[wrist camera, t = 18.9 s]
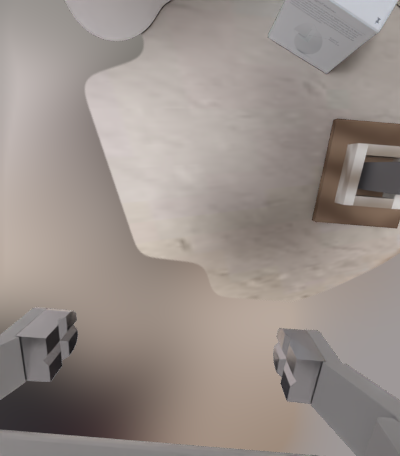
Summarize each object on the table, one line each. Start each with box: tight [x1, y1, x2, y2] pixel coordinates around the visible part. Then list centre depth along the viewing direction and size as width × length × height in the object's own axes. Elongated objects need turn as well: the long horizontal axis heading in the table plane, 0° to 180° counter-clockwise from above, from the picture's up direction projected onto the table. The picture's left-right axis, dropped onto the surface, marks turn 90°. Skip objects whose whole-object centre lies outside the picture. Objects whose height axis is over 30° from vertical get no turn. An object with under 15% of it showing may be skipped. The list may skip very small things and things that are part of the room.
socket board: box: [312, 119, 400, 228], centre depth 36 cm, size 16×14×4 cm
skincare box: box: [268, 0, 398, 74], centre depth 27 cm, size 10×6×10 cm, turn 63°
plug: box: [357, 162, 400, 195], centre depth 32 cm, size 4×4×9 cm
